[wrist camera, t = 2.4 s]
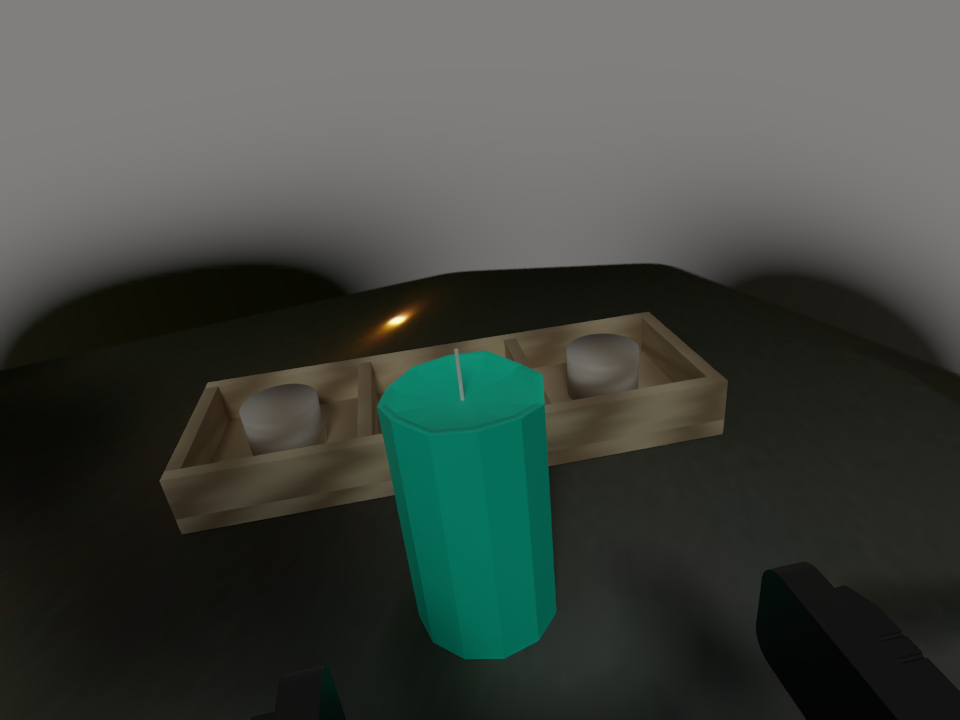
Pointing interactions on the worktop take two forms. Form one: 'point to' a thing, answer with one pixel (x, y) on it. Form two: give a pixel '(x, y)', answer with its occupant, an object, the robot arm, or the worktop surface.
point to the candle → (474, 500)
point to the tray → (358, 435)
